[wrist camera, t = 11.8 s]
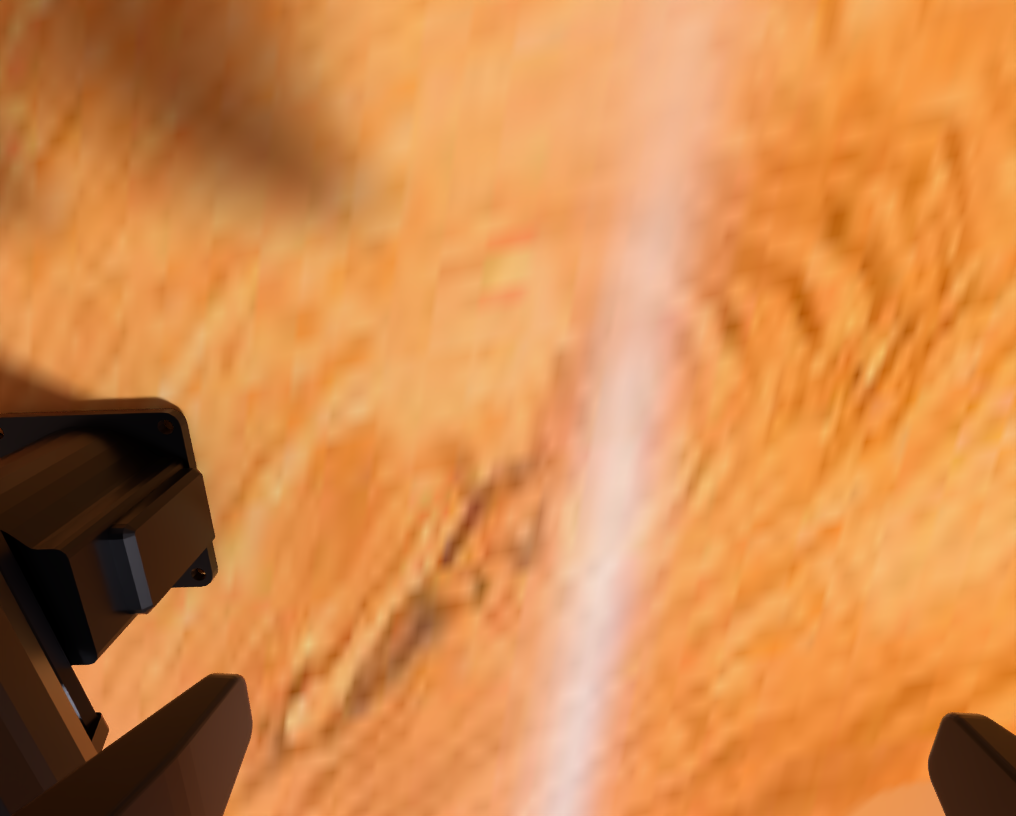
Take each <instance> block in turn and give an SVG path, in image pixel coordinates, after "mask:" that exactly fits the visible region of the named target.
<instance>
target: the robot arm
mask: <svg viewBox="0 0 1016 816" xmlns="http://www.w3.org/2000/svg"><path fill="white" fill-rule="evenodd" d="M164 420H168V421H170V422H171V423H172V425H173V430H170V429H168V428H167V427H166V426H165V424H164ZM0 428H1V429H2V430H3V432H4V435H3V434H2V433H0V816H223V814H224V811H225V808H226V806H227V803H228V800H229V797H230V794H231V792H232V789H233V786H234V783H235V780H236V778H237V775H238V772H239V769H240V767H241V764H242V761H243V758H244V755H245V753H246V750H247V747H248V744H249V741H250V738H251V734H252V715H251V709H250V703H249V698H248V692H247V686H246V682H245V679H244V678H243V677H242V676H241V675H238V674H223V673H214V674H210V675H208V676H206V677H205V678H203V679H202V680H201V681H199V682H198V683H196V684H195V685H193V686H192V687H191V688H189V689H188V690H186V691H185V692H184V693H182V694H181V695H179V696H178V697H177V698H175V699H174V700H172V701H171V702H170V703H168V704H167V705H165V706H164V707H163V708H161V709H160V710H158V711H157V712H156V713H154V714H153V715H151V716H150V717H149V718H147V719H146V720H144V721H143V722H142V723H140V724H139V725H137V726H136V727H135V728H133V729H132V730H130V731H129V732H128V733H126V734H125V735H123V736H122V737H121V738H119V739H118V740H116V741H115V742H113V743H112V744H111V745H109V746H108V747H106V748H105V749H104V750H102V749H103V746H104V743H105V740H106V738H107V735H108V732H109V727H108V725H107V723H106V722H105V720H104V718H103V716H102V714H101V713H100V712H96V713H95V711H94V709H93V707H92V705H91V703H90V701H89V699H88V697H87V695H86V694H85V692H84V690H83V688H82V686H81V684H80V682H79V680H78V678H77V676H76V674H75V672H74V671H73V669H72V667H71V665H89V664H93V663H95V662H96V660H97V659H98V658H99V657H100V656H101V655H102V654H103V653H104V652H105V650H106V649H107V648H108V647H109V646H110V645H111V644H112V643H113V642H114V640H115V639H116V638H117V637H118V636H119V635H120V634H121V633H122V632H123V630H124V629H125V628H126V627H127V626H128V625H129V624H130V623H131V622H132V620H133V619H134V618H135V617H136V616H137V615H138V614H148V613H149V612H150V611H151V610H152V609H153V608H154V607H155V606H156V605H157V604H158V602H159V601H160V600H161V599H162V598H163V597H164V596H165V594H166V593H167V592H168V591H169V590H170V589H171V588H173V587H202V586H206V585H208V584H209V583H211V581H212V580H213V579H214V577H215V576H216V574H217V573H218V566H217V562H216V557H215V552H214V548H213V543H212V541H213V540H214V538H215V534H214V529H213V524H212V519H211V515H210V510H209V505H208V500H207V495H206V491H205V486H204V481H203V476H202V474H201V473H200V472H199V470H198V469H197V467H196V462H195V457H194V453H193V448H192V443H191V438H190V434H189V429H188V424H187V421H186V419H185V417H184V416H183V414H182V413H181V412H179V411H177V410H175V409H170V408H165V409H134V410H103V411H72V412H41V413H10V414H0ZM197 568H200V569H202V570H203V571H204V572H205V574H201V573H200V572H198V570H197ZM928 771H929V775H930V779H931V782H932V785H933V787H934V789H935V792H936V794H937V796H938V799H939V801H940V803H941V806H942V808H943V810H944V813H945V815H946V816H1016V736H1015V735H1014V734H1012V733H1011V732H1009V731H1008V730H1006V729H1005V728H1003V727H1002V726H1000V725H999V724H997V723H996V722H994V721H993V720H991V719H990V718H988V717H986V716H984V715H980V714H972V713H953V712H952V713H948V714H946V715H945V716H944V717H943V718H942V720H941V723H940V726H939V729H938V732H937V734H936V737H935V740H934V743H933V746H932V749H931V752H930V755H929V759H928Z"/></svg>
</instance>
